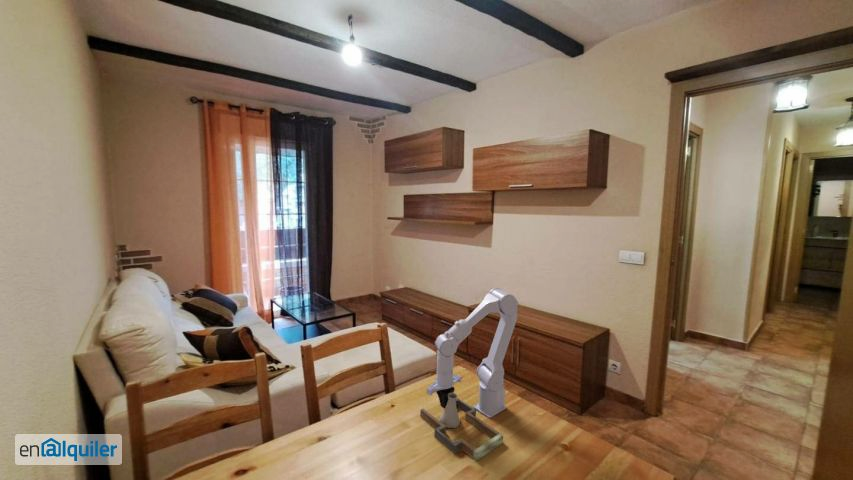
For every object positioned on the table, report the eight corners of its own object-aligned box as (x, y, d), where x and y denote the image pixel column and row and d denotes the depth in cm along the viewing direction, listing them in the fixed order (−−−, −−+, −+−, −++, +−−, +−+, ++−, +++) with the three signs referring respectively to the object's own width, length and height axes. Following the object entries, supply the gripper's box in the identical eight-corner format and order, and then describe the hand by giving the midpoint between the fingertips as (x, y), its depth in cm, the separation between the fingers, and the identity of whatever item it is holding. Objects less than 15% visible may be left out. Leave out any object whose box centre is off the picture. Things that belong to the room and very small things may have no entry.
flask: (458, 431, 113) (461, 405, 111) (437, 426, 114) (439, 399, 112) (461, 416, 120) (464, 391, 118) (441, 411, 121) (444, 386, 119)
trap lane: (451, 400, 130) (451, 394, 129) (508, 438, 110) (508, 431, 109) (414, 419, 118) (414, 412, 118) (469, 465, 98) (469, 457, 98)
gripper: (452, 359, 125) (451, 394, 127) (421, 371, 116) (420, 408, 118) (466, 366, 120) (464, 403, 122) (434, 380, 111) (433, 419, 112)
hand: (443, 406), depth 119 cm, fingers closed, pressing on flask
